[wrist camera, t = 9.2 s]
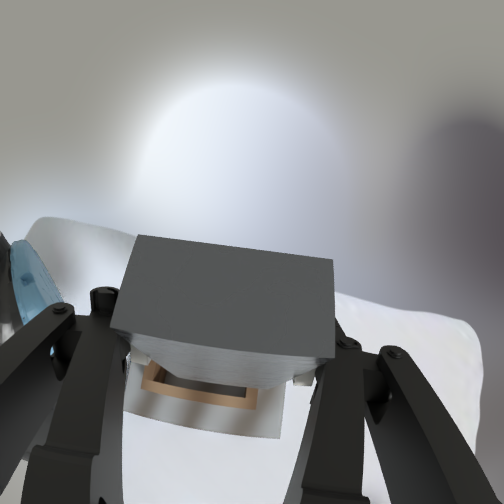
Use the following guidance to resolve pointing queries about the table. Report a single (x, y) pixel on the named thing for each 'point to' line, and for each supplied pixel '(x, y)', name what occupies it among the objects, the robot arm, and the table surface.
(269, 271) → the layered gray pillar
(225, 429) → the post slot
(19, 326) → the robot arm
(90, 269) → the table surface
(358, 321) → the table surface
